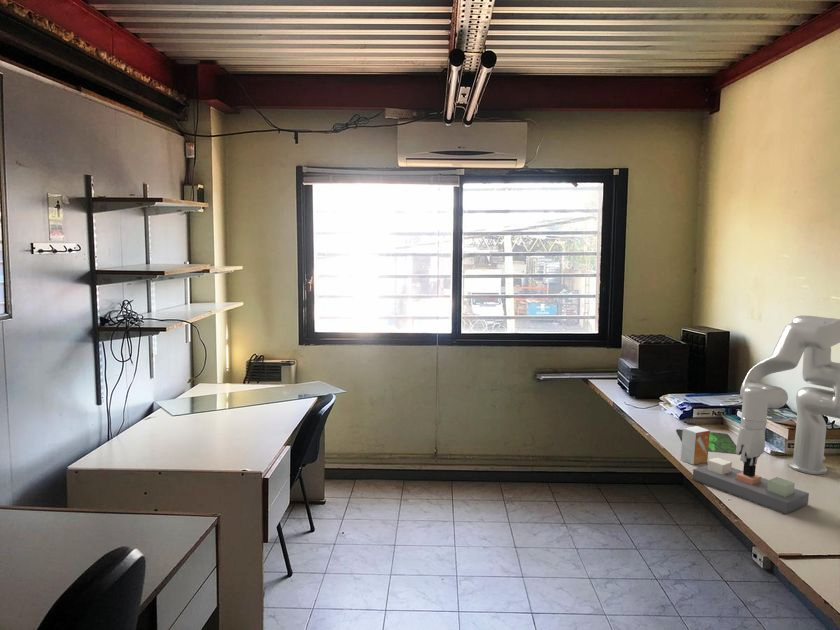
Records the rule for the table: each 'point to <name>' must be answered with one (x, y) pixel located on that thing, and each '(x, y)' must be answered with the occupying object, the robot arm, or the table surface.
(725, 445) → the mouse mat
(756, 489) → the key console
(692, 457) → the small box
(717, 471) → the cream key
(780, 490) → the sage key
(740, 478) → the terracotta key
